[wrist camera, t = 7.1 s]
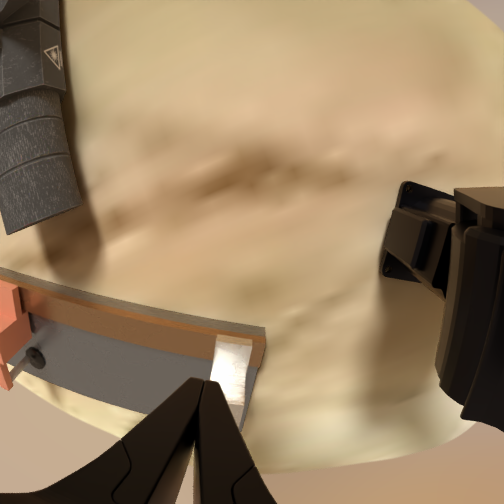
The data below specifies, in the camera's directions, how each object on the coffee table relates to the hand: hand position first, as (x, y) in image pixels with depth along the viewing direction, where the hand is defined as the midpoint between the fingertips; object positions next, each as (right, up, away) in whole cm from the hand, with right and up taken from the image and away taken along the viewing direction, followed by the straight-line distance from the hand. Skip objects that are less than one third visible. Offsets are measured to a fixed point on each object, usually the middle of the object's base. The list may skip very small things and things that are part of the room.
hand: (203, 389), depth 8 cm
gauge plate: (-10, -4, +14) cm, 18 cm away
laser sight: (-14, +17, +8) cm, 24 cm away
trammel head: (-18, -2, +12) cm, 21 cm away
